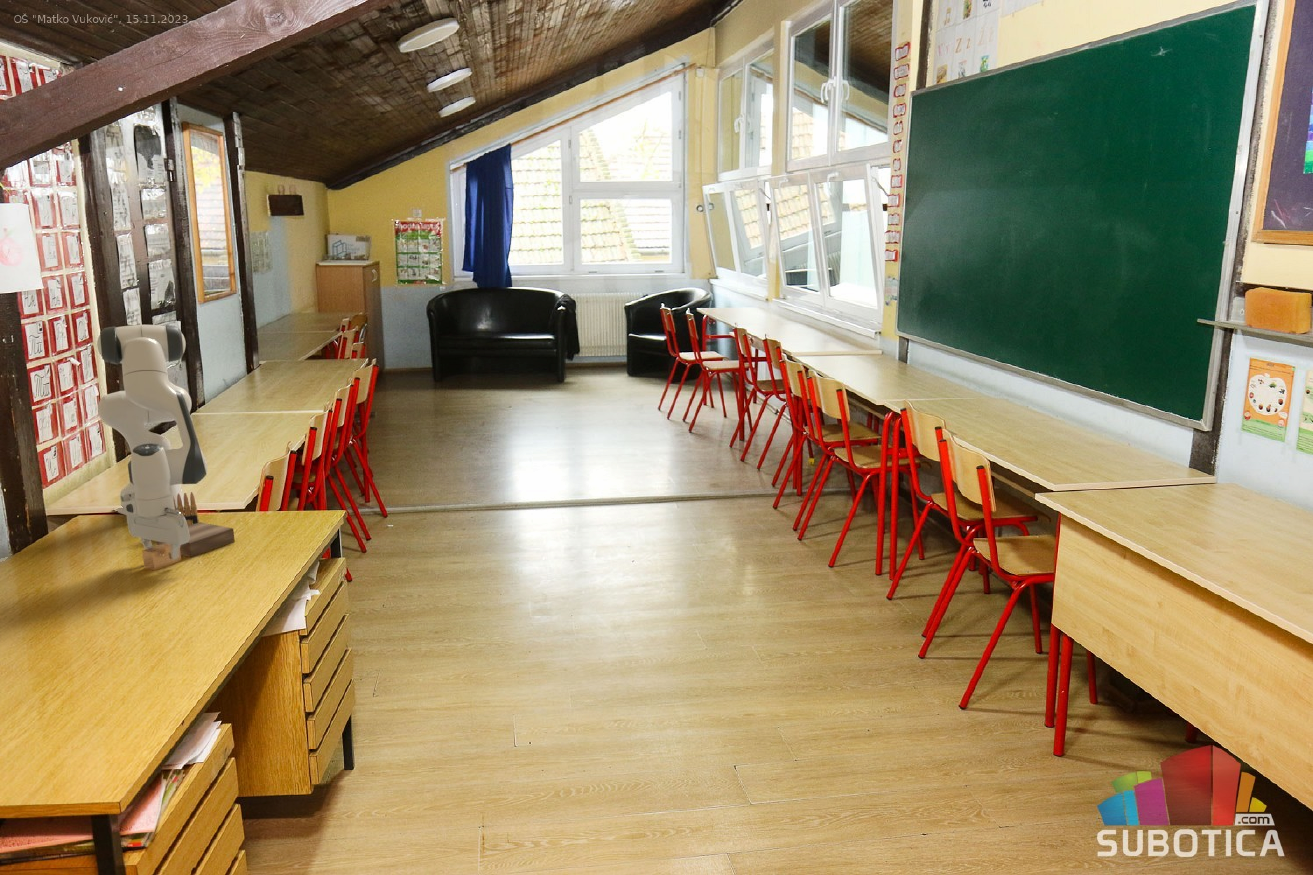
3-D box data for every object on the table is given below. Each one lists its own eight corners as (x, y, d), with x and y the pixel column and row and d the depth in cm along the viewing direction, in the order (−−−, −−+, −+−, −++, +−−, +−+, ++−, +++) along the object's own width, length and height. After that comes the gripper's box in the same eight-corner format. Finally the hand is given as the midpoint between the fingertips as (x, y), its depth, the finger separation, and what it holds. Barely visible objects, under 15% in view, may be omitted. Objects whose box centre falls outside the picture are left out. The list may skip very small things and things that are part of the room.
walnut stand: (157, 549, 268) (155, 536, 267) (201, 535, 280) (199, 522, 279) (191, 557, 261) (189, 543, 261) (234, 541, 274) (233, 528, 273)
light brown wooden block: (144, 568, 254) (142, 550, 253) (171, 559, 261) (169, 541, 260) (154, 570, 252) (152, 552, 251) (181, 561, 259) (179, 543, 258)
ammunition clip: (200, 529, 285) (195, 490, 283) (199, 531, 283) (194, 492, 281) (160, 534, 282) (155, 494, 279) (159, 536, 280) (154, 496, 277)
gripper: (192, 507, 251) (199, 557, 254) (141, 498, 260) (148, 547, 263) (170, 514, 245) (177, 565, 248) (119, 504, 255) (127, 554, 258)
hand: (162, 555), depth 256 cm, fingers open, 8 cm apart
